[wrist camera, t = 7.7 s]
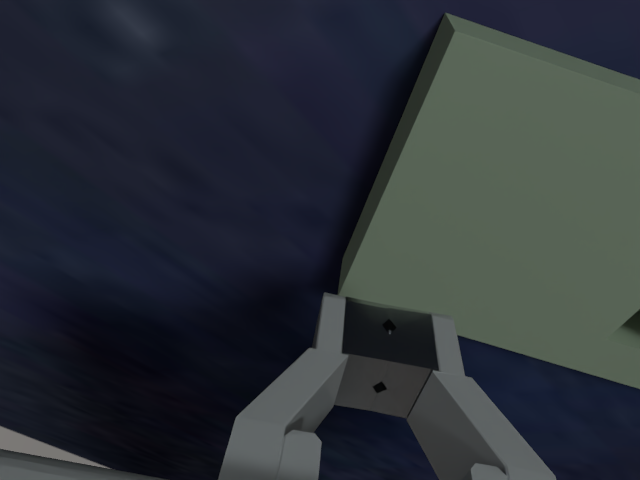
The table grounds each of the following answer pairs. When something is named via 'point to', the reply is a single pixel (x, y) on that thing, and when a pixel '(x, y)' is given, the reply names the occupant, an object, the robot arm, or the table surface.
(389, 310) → the robot arm
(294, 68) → the table surface
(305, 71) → the table surface
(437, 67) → the putting board
